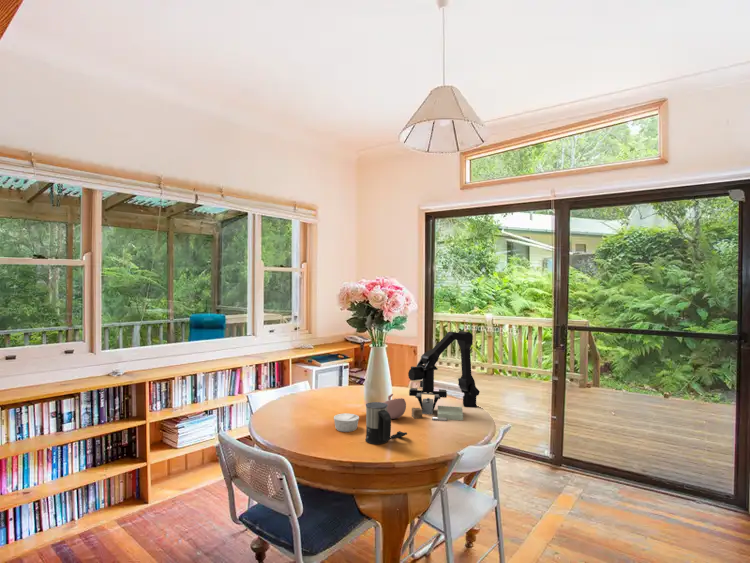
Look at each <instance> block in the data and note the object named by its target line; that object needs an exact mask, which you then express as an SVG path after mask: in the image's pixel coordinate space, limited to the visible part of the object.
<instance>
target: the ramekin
mask: <svg viewBox="0 0 750 563" xmlns="http://www.w3.org/2000/svg"><path fill="white" fill-rule="evenodd" d="M333 420H334V427H335V429H336V430H337V431H338V432H342V433H349V432H353V431H356V430H357V429H358V424H359V420H360V416H359V415H357V414H354V413H346V412H344V413H339V414H335V415H334V416H333Z"/></svg>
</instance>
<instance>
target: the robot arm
mask: <svg viewBox="0 0 750 563" xmlns="http://www.w3.org/2000/svg"><path fill="white" fill-rule="evenodd" d="M454 341H457V344H458V346H459V348H460V361H461V362H460V364H461V376H460V377H459V378H457V379H458V380H457V381H458V384H457V385H458V387H459V389H460V390H461V393H462V394H463V396H462V406H464V407H466V408H468V407H469V408H477V397H478V396H479V395H480V390H479V389H478V388H477V387H476V382H475V379H474V377H473V375H472V361H471V347H472V345H473V341H474V335H473V334H472V333H471V332H470V331H465V330H460V331H458V332H456V331H455V332H453V331H447V333H446V335H445V336H444V337H442V339H441V340H440V341H438V342H437V343H436V344H435V345H434V346H433V348H431V349H429V350H427V351H426V352H424V353H423V354H421V356H420V359H419V361H418V363H416V366H410V368H409V370H408V372H407V374H408V379H409V380H410V381H411V382H412V381H419V387H420V388H422V389H421V390H420V389H418V388H417V387H410V388H409V391H408V395H409V396H410V397H414V398H415V399H417V400H418V403H419V405H420V409H422V402H423V397H422V396H423V395H427V396H428V395H430V396H434V397H433V411H434V410H435V407H436V405H437V402H438V400H441V398H443V399H445V398H447V397H448V395H447V394H448V392H447V389H438V390H435V371H437V370H438V369H439V368H438V367H436V364H437V362H439V359H440V355H441V354H443V352H444V351H446V349H448V347H449V346H450V345H451V344H452V343H453V342H454Z"/></svg>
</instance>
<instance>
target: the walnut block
mask: <svg viewBox="0 0 750 563" xmlns="http://www.w3.org/2000/svg"><path fill="white" fill-rule="evenodd" d="M411 418H413V420H414V419H416V418H417V419H423V414H422V409H421V407H412V408H411Z"/></svg>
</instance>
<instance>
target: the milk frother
mask: <svg viewBox="0 0 750 563" xmlns="http://www.w3.org/2000/svg"><path fill="white" fill-rule="evenodd" d="M387 406H388V404H386V403H383V402H380V401H372V402H368V403H366V404H365V409H366V410H365V417H366V418H365V420H366V424H365V426H366V427H365V428H366V429H365V439H364V440H365V442H366V443H368V444H371V445H382V444H385V443H387V442H388V441H390V440H393V439H402V437H405V436H406V435H408V433H407V432H405V431H404V432H403V431H401V430H400V431H397V432H396V433H395V434H392V435H391V432H392V430H391V428H392V419H391V417H390V414H389V413H388V412H387Z"/></svg>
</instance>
